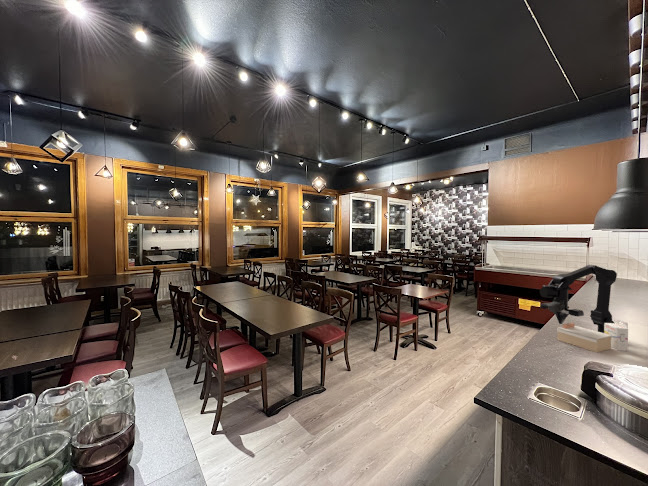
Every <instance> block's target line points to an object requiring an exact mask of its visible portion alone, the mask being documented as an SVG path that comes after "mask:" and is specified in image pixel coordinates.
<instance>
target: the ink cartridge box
mask: <svg viewBox="0 0 648 486" xmlns="http://www.w3.org/2000/svg"><path fill="white" fill-rule="evenodd" d="M613 322H614V323H604V333H605V334H609V335H612V339H611V349H614V350H616V351H627V352H628V351H629V350H628V349H629V326H628V322H626V321H624V320H621V319H618V318H616V317H614V318H613Z"/></svg>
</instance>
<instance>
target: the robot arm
mask: <svg viewBox="0 0 648 486" xmlns="http://www.w3.org/2000/svg"><path fill="white" fill-rule="evenodd" d="M591 274H592V275H595V281H596V282H597V283H598V289H597V296H596V297H597V299H596V307H595V309H594V310H592V309H591V310H590V315H589V317H590V320H591V321H592V323H593V325H595V326H597V331H598V332H601V333H604V323H615V322H614V320H613V315H612V313H611V311H610V310H609V309H610V302H611V300H610V299H611V291H612V290H611V288H612V285H613V284H614V283H615V282H616V281H617V276H618V273H617V272H616V270H614V269H607V268H604V267H600V266H598V265H594V264H586V265H585V266H583V267H580V268H578V269H576V270H574V271H571V272H568V273H561V274H556V275H554V276H553V278H552V279H551V280H550V282H549V283H548V285H542V287H541V288H539V295H540V297H542V298H553V299H552V302H551V301H550V303H549V302H543V303H541V304H540V306H539V307H540V309H543V310H548V311H550V312H551V313H553V314H554V315H555V317H556V320H557V322H558V324H559V325H563V323H564V322H565V320H566V318H567V317H569V315H570V316H573V317H583V316H585V312H584V311H583V310H581V309H577V308H572V309H570V306H569V302H570V299H569V291H572V290H573V288H571V287H570V286H571V285H572V284H574V282H575V281H577V280H579V279H581V278H584V277H586V276H589V275H591Z"/></svg>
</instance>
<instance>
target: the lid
mask: <svg viewBox="0 0 648 486" xmlns="http://www.w3.org/2000/svg"><path fill="white" fill-rule="evenodd" d="M556 332H557V333H558V332H561V333H565V334H568V335H571V336H575V337H578V338H582V339H585V340H589V341H592V342H595V343H597V340H599V339H603V338H607V337H611V339H612V335H609V334H605V333H601V332H598V330H595V329H589V328H585V327H582V326H578V325H575V323H574V322H569V323H564V324H563V323H562V326H559V327H557V328H556Z"/></svg>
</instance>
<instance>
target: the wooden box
mask: <svg viewBox="0 0 648 486" xmlns="http://www.w3.org/2000/svg"><path fill="white" fill-rule="evenodd" d="M557 340H558V341H560V342H563V343H567V344H570V345H574V346H576V347H578V348H579V347H580V348H582V349H586V350H588V351H591V352H594V353H600V352H603V351H607V350H611V349H612V348H611V337H607V338H603V339H599V340H597V343H595V342H592V341H589V340H585V339H582V338H578V337H575V336H571V335H568V334H565V333H561V332H558V331H557Z"/></svg>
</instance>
